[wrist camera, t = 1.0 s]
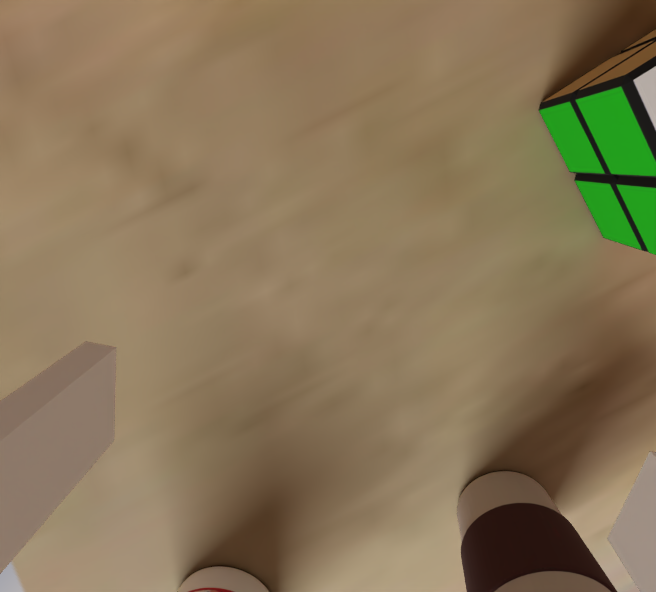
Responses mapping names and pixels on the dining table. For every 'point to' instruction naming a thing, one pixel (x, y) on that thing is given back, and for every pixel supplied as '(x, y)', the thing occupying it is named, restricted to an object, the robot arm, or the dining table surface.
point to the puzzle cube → (613, 142)
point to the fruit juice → (221, 581)
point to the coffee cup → (521, 540)
